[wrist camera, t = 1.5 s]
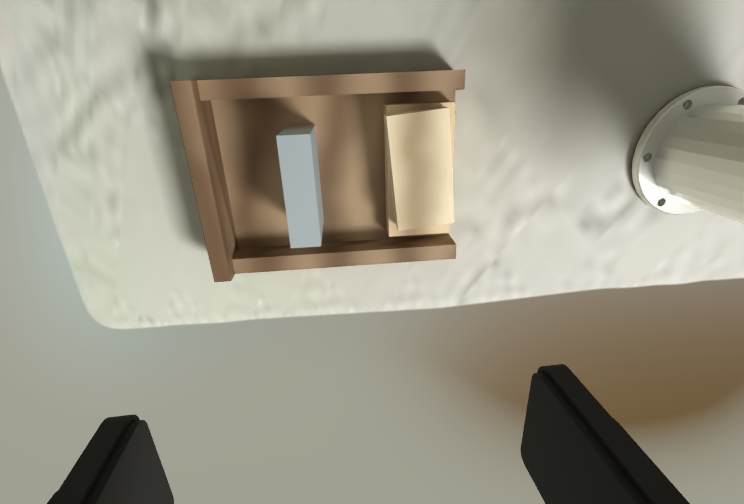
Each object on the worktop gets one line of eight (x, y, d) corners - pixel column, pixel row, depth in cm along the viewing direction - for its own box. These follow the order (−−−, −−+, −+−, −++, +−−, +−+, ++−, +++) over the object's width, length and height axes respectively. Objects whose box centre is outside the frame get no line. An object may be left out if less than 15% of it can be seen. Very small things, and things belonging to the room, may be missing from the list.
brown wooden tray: (453, 70, 35) (471, 69, 31) (446, 245, 42) (459, 264, 38) (192, 81, 34) (169, 81, 29) (228, 259, 41) (214, 282, 36)
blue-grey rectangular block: (315, 124, 35) (310, 134, 29) (323, 219, 39) (321, 246, 33) (287, 126, 35) (276, 135, 29) (298, 221, 39) (290, 248, 32)
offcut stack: (449, 101, 36) (462, 103, 32) (444, 226, 40) (455, 240, 37) (381, 104, 35) (386, 106, 32) (384, 229, 40) (389, 244, 36)
